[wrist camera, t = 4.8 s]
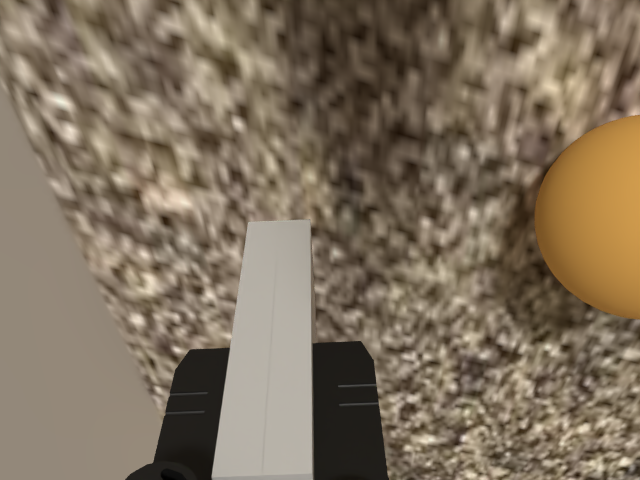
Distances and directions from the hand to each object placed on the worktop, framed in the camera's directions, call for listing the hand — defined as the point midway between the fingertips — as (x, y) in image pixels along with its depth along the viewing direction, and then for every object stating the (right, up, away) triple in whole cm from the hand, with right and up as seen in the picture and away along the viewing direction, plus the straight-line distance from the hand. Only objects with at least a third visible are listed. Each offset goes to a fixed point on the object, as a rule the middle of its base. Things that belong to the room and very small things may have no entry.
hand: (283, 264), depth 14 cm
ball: (+10, +1, +1) cm, 10 cm away
